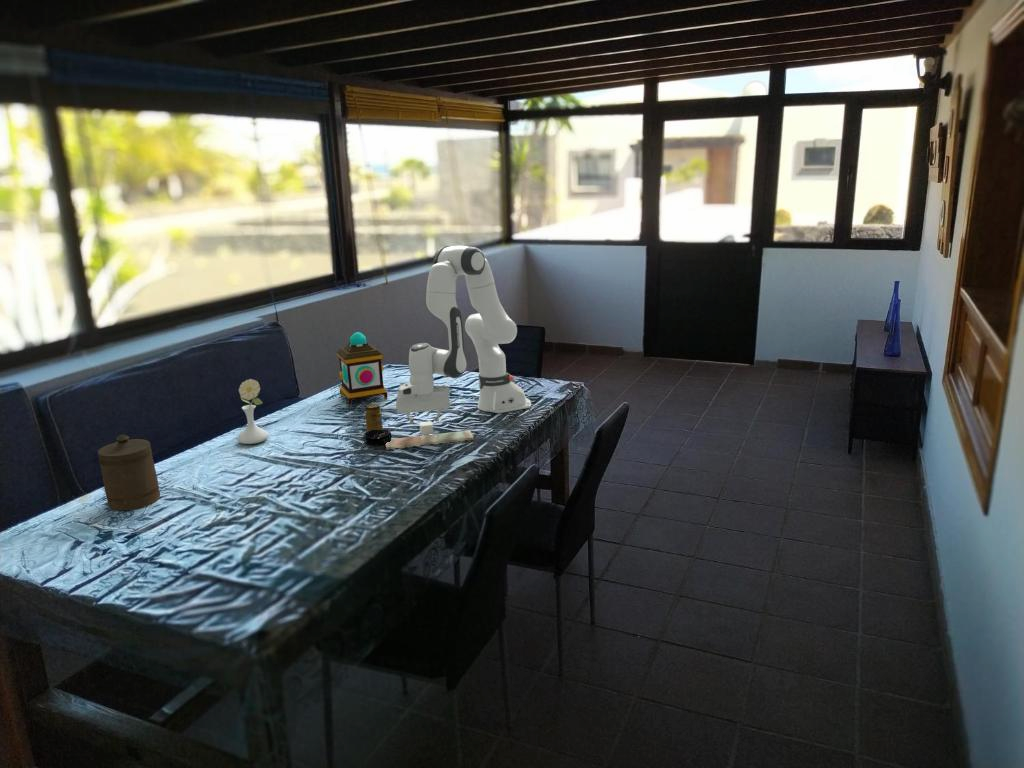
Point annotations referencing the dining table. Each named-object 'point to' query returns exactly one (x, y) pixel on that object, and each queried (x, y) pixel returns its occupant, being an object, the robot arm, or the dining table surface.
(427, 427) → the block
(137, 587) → the dining table surface
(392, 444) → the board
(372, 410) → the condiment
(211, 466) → the dining table surface
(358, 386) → the decorative lantern
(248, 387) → the flower in vase
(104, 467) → the wooden container
